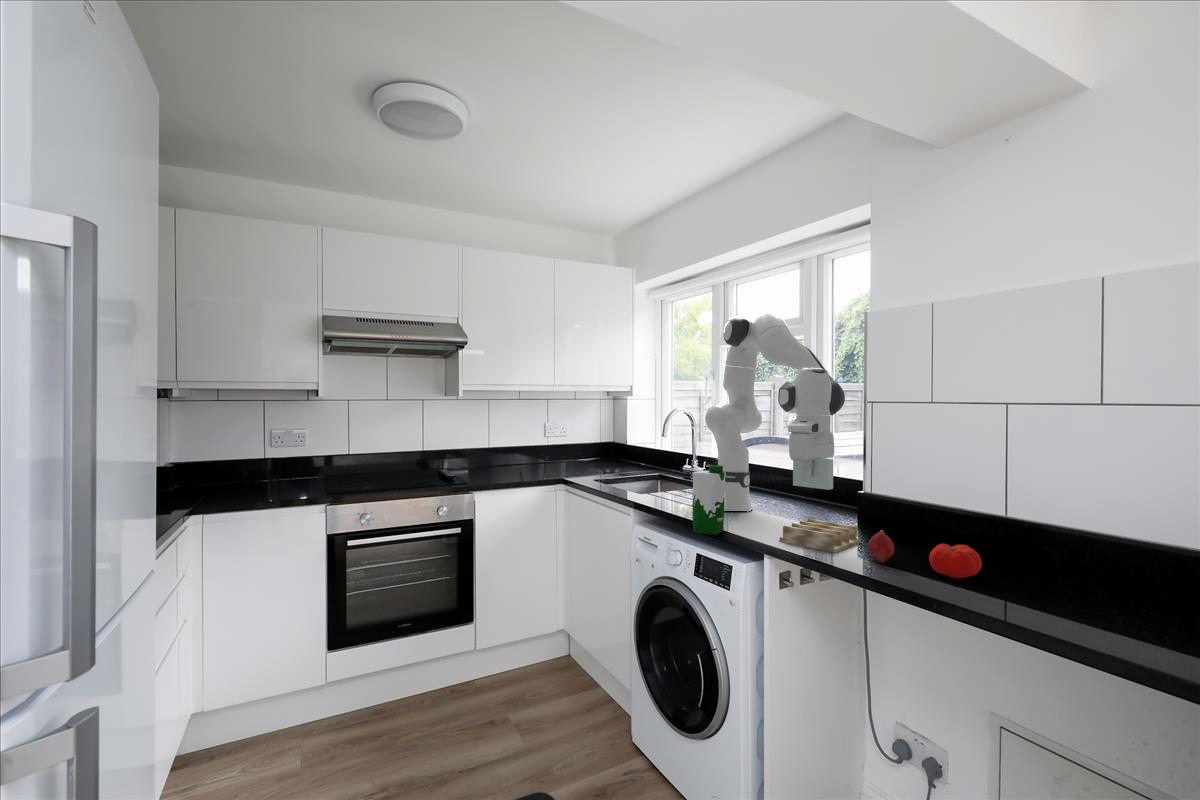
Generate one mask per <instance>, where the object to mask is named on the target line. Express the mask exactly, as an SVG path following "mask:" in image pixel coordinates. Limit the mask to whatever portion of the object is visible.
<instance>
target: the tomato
mask: <svg viewBox="0 0 1200 800" xmlns="http://www.w3.org/2000/svg"><path fill="white" fill-rule="evenodd" d="M928 559H929V565H930V567H931V568H932V569H933V570H934V571H935V572H936V573H938V574H940V575H944V576H947V577H950V578H953V579H966V578H968V577H973V576H975V575H977V574H979V572H980V571H981V569H982V565H983V562H982V558H981V556H980V554H979V553H978V552H977V551H976V550H974V549H973V548H972V547H971V546H969V545H966V544H956V545H953V546H951V545H949V544H947V543H939V544H938V545H936V546H935V547H934V548H932V550H931V552H930V553H929V557H928Z"/></svg>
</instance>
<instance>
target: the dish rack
mask: <svg viewBox="0 0 1200 800" xmlns="http://www.w3.org/2000/svg"><path fill="white" fill-rule="evenodd" d="M857 531H858V527H857V526H854V525H848V524H843V523H838V522H831V521H826V520H820V519H813V518H807V521H804V520H800V521H799V523H794V522H792V523H791V525H790V526H789V525H783V526H782V536H780V537H779V541H778V542H781V541H782V543H786V544H792V545H797V546H800V547H806V548H809V549H810V548H811V549H816V550H820V551H824V552H830V553H834V554H837V553H840V552H842V551H844V550H848V549H849V548H853V547H855V546H857V545H860V544H861V539H860V538H859V539H858V538H857V536H858V534H857V533H858V532H857ZM859 543H860V544H859Z"/></svg>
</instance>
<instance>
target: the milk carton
mask: <svg viewBox="0 0 1200 800" xmlns="http://www.w3.org/2000/svg"><path fill="white" fill-rule="evenodd" d="M708 467H709V468H708V470H698V471H694V472H692V503H693V505H692V532H693V533H697V534H703V535H704V534H705V535H710V536H711V535H712V536H717V535H719V534H720V533H722V532H723V531H724V526H725V525H724V524H725V523H724V522H725V512H724V493H725V475H726V472H723V466H720V465H718V464H717V465H716V464H715V465H714V464H710V465H708ZM722 530H723V531H722Z"/></svg>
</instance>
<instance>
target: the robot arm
mask: <svg viewBox="0 0 1200 800" xmlns="http://www.w3.org/2000/svg"><path fill="white" fill-rule="evenodd" d="M722 333H723V340H724V342H725V344H726V345H728V346H729V347H728V351H727V354H726V360H725V367H724V373H723V381H722V385H723V389H724V390H725V392H726V393H727V395H728V401H729V403H719V404H715V405H714V406H711V407H710V408H708V410H707V411H706V413H705V416H704V417H705V418H704V420H705V421H704V422H705V425H706V427H707V428H708V429H709V431H711V433H712V435H713V437H714V440H715V443H716V446H717V461H718V462H717V465H720V466H723V472H726V475H725V493H724V511H747V512H750V511H751V510H752V511H753V509H754V508H753V506H752V503H751V502H752V501H751V495H750V482H751V477H750V474H751V473H750V470H749V464H750V463H749V461H750V460H749V459H750V458H749V457H750V452H749V449H748V447H747V446H745V444H744V442H743V440H742V434H749V433H751V432H754V431H756V430H758V429H760V426H761V424H762V421H763V417H762V413H761V411H760V410H759V409H758V407H757V404H756V400H755V399H756V398H755V389H754V388H755V380H756V370H757V362H758V354H759V353H760V354H761V356H762V357H763V358H764V359H765V360H766V361H768V362H769V363H771V364H774V365H777V366H783V367H787V368H792V369H794V370H797V371H798V373H797V376H795V377H794V378H793V379H791V380H788V381H786V382H784V383H783V384H782V385H781V386H780V387H779V389H778V396H777V397H778V398H777V399H778V401H777V402H778V405H779V406H780V408H781V409H782V410H783V411H784V412H786V413H790V414H796V418H795V419H794V420H793V421H792V422H790V423H789V424H788V425H787V431H788V433H790V434H789V436H788V454H789V458H790V459H791V461H793V460H794V461H802V464H803V467H804V470H805V476H807V477H811V476H813V470H812V467H811V464H812V460H816V459H819V458H824V459H833V458H834V456H835V439H834V438H835V437H834V434H833V432H832V431H831V424H832V423H831V417H832V416H834V415H835V414H837V413H838V412H839V411H840V410H841V409H842V408H843V406H844V405H845V401H846V395H845V394H846V393H845V392H844V389H843V387H842V386H841V385H840V383H839V382H837V381H836V380H835V379H834V378H832V376H831V375H830V374H829V371H828V370H826V368H825V366H824V365H823V364H822V363H821V362H820V360H819V359H818V358H817V356H816V355H815V354H814V353H813V351H812V350H811V349H810V348H808V347H807V346H805V345H804V344H803V343H801V342H800V341H799V340H798V339H797V338H796V337H795V335H794V334H793V333H792V332H791V330H790V328H789V326H788V324H787V322H786V321H785V320H784V319H783V317H782V316H781V315H780V314H779V313H777V312H775V311H771V310H768V311H764V312H761V313H760V314H759V315H757V316H756V317H748V316H747V317H745V316H744V317H743V316H732V317H730V318H729V319H727V321H726V322H725V324H724V327H723V332H722ZM691 503H692V504H693V502H691ZM692 504H691V505H692Z"/></svg>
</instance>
